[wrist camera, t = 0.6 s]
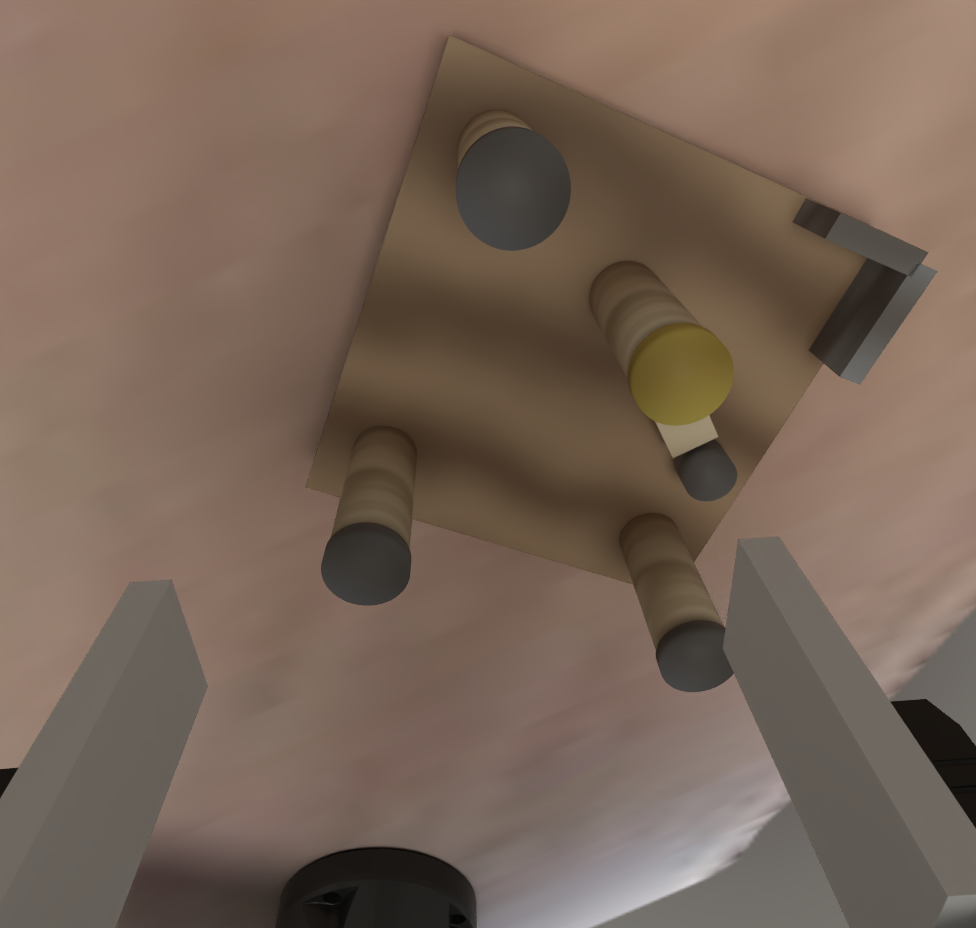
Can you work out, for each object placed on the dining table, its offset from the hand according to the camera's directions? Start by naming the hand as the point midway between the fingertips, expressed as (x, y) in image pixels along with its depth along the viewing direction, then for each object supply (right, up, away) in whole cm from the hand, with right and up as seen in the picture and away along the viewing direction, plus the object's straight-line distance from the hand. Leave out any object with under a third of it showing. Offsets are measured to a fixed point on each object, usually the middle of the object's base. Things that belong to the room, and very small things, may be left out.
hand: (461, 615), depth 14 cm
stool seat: (+5, +8, +21) cm, 23 cm away
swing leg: (+8, +7, +19) cm, 21 cm away
